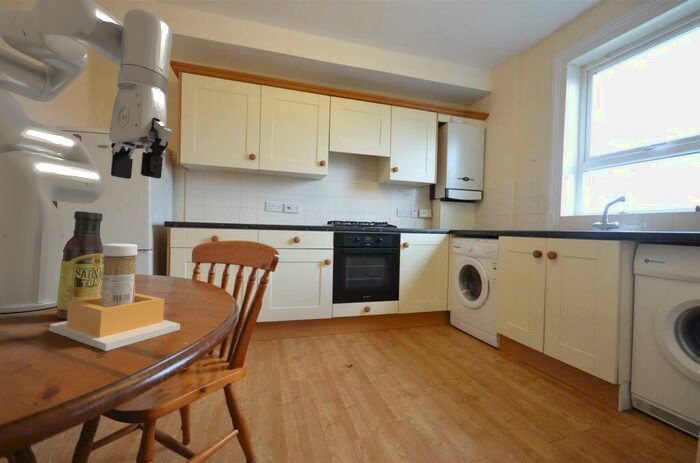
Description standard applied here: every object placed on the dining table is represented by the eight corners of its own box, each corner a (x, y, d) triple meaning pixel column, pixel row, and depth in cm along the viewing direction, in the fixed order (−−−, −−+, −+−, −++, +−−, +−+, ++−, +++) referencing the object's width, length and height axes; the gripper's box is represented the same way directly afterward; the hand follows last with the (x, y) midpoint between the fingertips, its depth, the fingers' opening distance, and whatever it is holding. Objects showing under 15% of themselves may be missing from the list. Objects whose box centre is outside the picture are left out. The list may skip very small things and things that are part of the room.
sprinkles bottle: (134, 318, 52) (138, 243, 52) (132, 326, 48) (136, 245, 49) (101, 321, 50) (106, 242, 50) (95, 329, 46) (100, 244, 46)
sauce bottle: (73, 322, 52) (80, 210, 52) (46, 318, 53) (53, 209, 53) (110, 313, 58) (116, 213, 59) (85, 310, 59) (91, 212, 60)
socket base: (49, 330, 47) (51, 299, 47) (124, 315, 57) (126, 289, 57) (105, 351, 41) (107, 315, 41) (179, 329, 51) (181, 300, 51)
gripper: (95, 82, 55) (87, 173, 55) (149, 66, 47) (140, 172, 47) (139, 100, 62) (131, 181, 61) (192, 88, 54) (184, 181, 54)
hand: (135, 177), depth 54 cm, fingers open, 9 cm apart
